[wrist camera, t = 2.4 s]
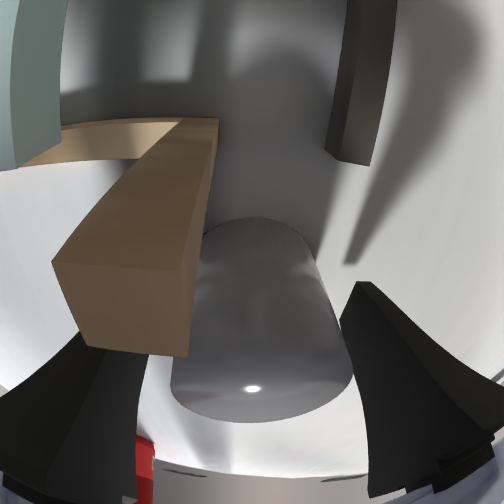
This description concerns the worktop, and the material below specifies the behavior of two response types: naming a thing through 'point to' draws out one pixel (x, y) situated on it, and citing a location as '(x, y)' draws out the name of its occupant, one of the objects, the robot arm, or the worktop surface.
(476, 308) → the worktop surface
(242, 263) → the grey matte cylinder
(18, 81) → the teal flat panel
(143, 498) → the canned food
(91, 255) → the toy chair
